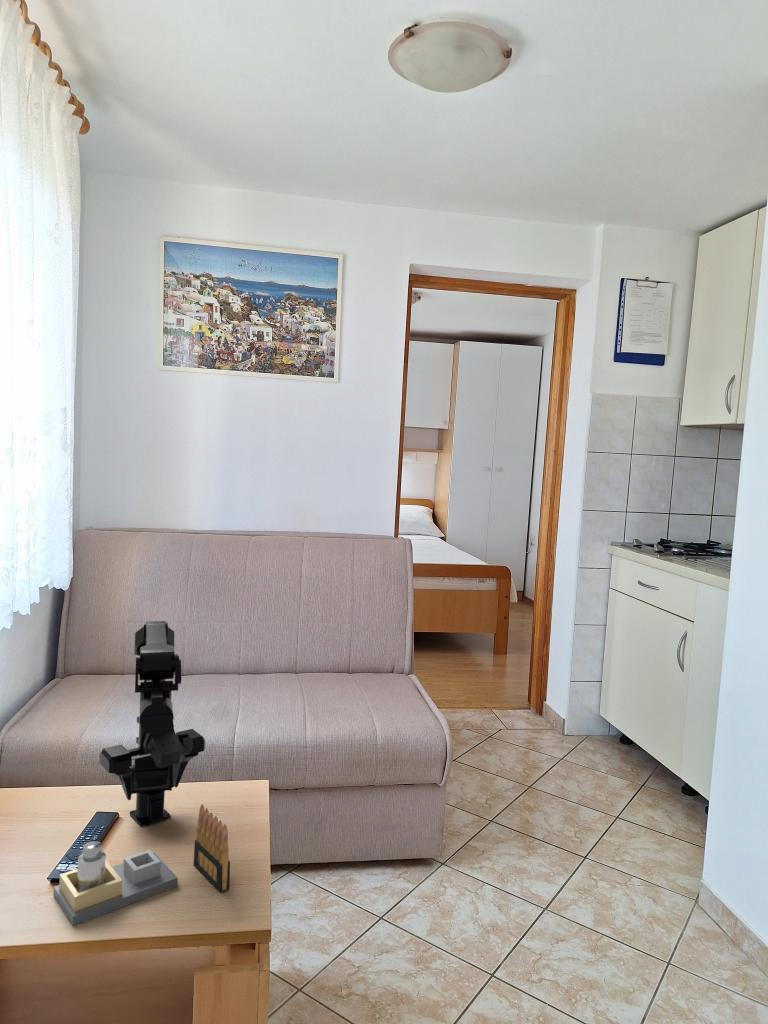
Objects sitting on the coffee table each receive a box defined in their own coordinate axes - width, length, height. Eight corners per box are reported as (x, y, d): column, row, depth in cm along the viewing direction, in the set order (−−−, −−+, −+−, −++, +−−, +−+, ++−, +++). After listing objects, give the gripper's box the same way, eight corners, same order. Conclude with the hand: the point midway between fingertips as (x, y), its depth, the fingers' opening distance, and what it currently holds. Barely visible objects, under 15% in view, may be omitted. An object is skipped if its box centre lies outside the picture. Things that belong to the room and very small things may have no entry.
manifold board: (53, 894, 121) (54, 872, 121) (154, 860, 133) (154, 839, 133) (72, 925, 114) (73, 901, 114) (177, 885, 126) (178, 864, 125)
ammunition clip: (229, 889, 125) (232, 825, 125) (220, 893, 124) (222, 828, 123) (202, 862, 134) (204, 801, 133) (193, 865, 132) (195, 803, 131)
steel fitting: (72, 889, 121) (74, 844, 120) (98, 880, 124) (100, 836, 123) (81, 902, 117) (84, 855, 117) (108, 892, 120) (110, 847, 120)
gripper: (121, 739, 122) (119, 825, 123) (219, 717, 134) (216, 796, 135) (99, 718, 130) (97, 799, 131) (193, 700, 142) (191, 774, 143)
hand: (152, 792), depth 135 cm, fingers open, 9 cm apart
